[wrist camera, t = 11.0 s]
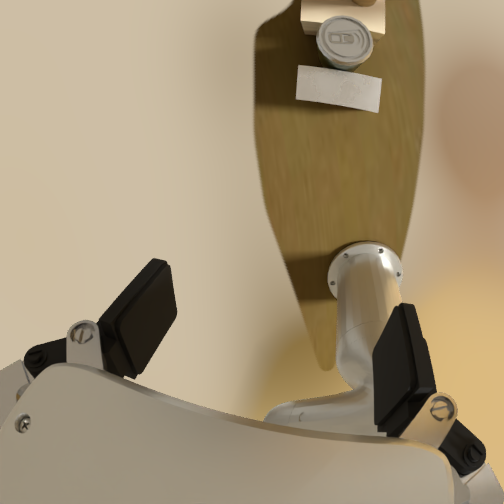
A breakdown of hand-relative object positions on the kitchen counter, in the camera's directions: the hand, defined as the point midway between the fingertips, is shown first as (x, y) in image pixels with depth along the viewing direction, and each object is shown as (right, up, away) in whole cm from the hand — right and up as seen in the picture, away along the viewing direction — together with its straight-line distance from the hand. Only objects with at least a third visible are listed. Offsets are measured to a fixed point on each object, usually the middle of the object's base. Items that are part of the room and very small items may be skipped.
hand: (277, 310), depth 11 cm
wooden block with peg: (+10, +32, +14) cm, 36 cm away
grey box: (+10, +23, +20) cm, 32 cm away
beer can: (+10, +27, +17) cm, 34 cm away
